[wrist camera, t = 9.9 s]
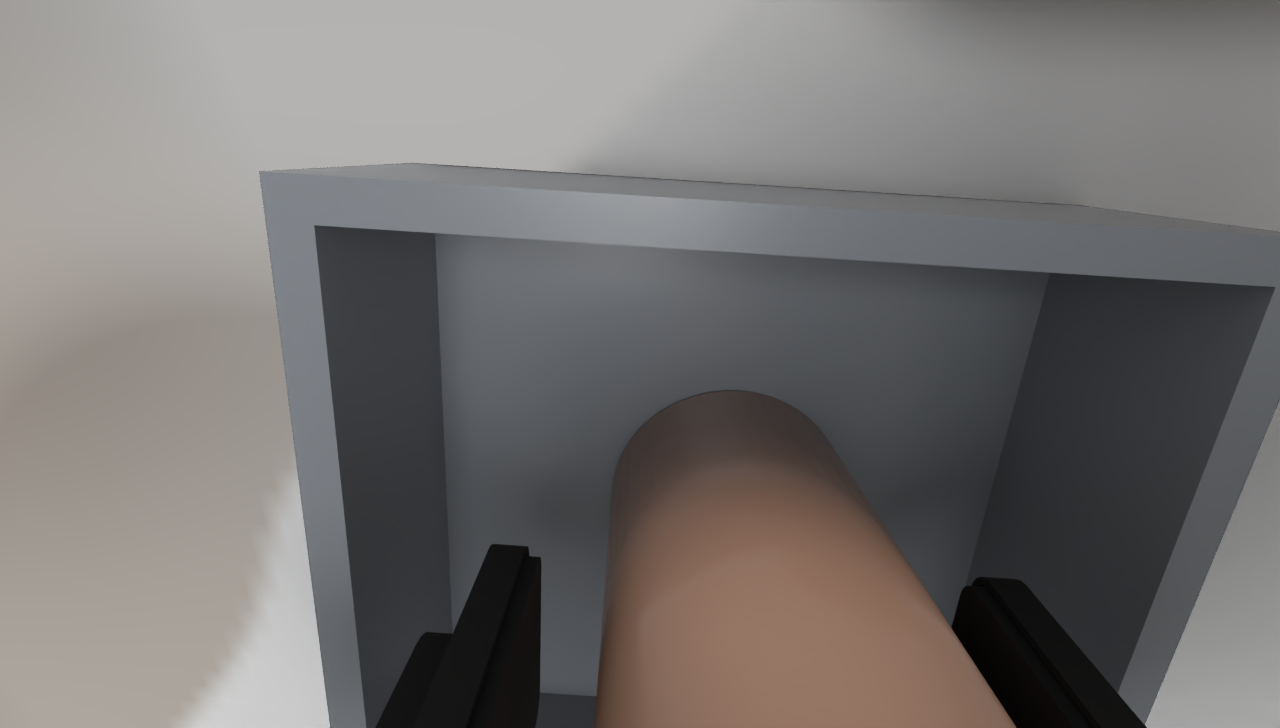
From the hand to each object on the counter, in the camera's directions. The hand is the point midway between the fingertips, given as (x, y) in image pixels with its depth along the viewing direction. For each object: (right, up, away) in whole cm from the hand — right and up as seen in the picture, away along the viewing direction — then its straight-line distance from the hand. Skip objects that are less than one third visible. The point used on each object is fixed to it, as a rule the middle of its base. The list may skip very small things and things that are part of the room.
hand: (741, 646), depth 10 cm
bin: (0, +2, +5) cm, 5 cm away
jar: (0, +1, +4) cm, 4 cm away
